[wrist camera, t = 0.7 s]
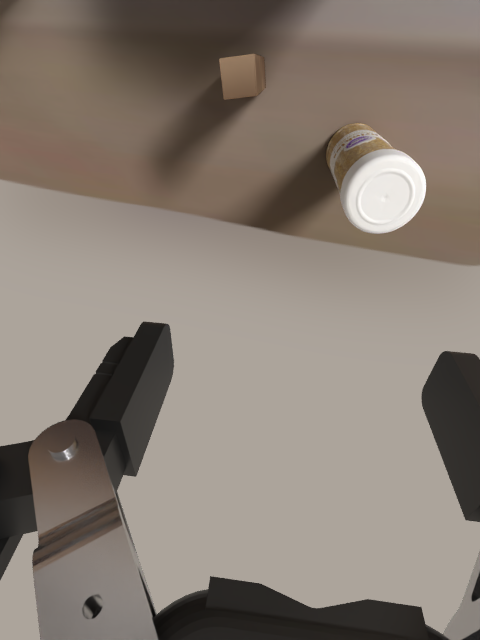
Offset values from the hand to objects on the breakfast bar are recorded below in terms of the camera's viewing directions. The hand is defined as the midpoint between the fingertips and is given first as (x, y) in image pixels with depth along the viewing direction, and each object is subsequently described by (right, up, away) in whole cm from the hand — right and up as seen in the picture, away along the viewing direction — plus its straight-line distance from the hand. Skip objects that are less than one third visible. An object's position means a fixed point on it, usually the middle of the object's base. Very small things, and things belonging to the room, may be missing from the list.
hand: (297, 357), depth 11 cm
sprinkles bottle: (+8, +16, +20) cm, 27 cm away
